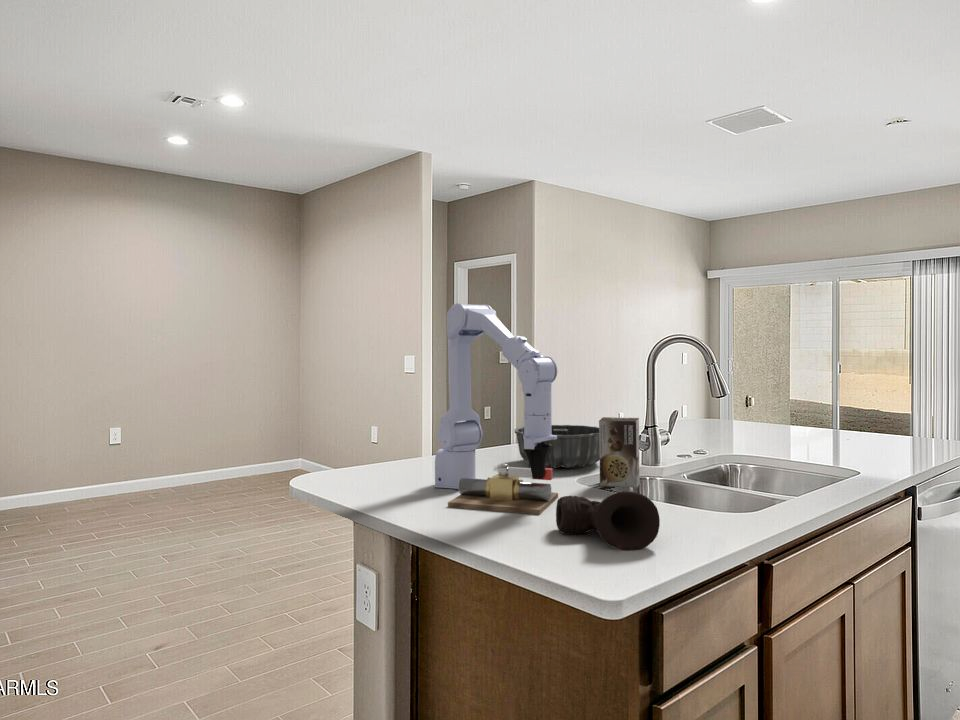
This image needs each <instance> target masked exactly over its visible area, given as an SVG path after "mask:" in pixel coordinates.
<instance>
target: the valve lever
mask: <svg viewBox="0 0 960 720" xmlns="http://www.w3.org/2000/svg"><path fill="white" fill-rule="evenodd" d="M553 469H554V468H552V467H545V473H544V477H543V479H537V480H542V481H552V480H553V479H554V475H553V474H554V472H553V471H554V470H553ZM497 471H498V474H499V476H501V477H508V476H510V477H519V478H528V479H529V478H530V479H532V480H534V479H533V477H532V472H531V467H518V466H517V467H515V466H509V464H508V463H501V464H500V466H498V470H497Z"/></svg>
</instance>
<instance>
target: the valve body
mask: <svg viewBox="0 0 960 720" xmlns="http://www.w3.org/2000/svg"><path fill="white" fill-rule="evenodd" d="M458 492H459V494H460V495H461V494H464V495H477V496H486V498H490V499H495V500H508V501H513V500H520V499H529V500H542V501H550V498H551V492H552V485H551V483H542V482H541V483H540V482H528V481H523V479H520V477H510V476H508V477H501V476H499V474H495V475H493V476H492V477H487V478H486V479H485V478H484V479H483V478H476V479H471V478H461V479H460V482H459V489H458Z"/></svg>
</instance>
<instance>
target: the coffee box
mask: <svg viewBox="0 0 960 720" xmlns="http://www.w3.org/2000/svg"><path fill="white" fill-rule="evenodd" d="M639 419H640V418H639V417H613V416H612V417H609V416H608V417H602V418H600V419H599V420H598V428H599V451H600V460H599V486H600V487H616V488H617V487H618V488H635V489H637V488H638V487H639V485H640V483H641V482H640V421H639Z"/></svg>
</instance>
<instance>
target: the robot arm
mask: <svg viewBox="0 0 960 720" xmlns="http://www.w3.org/2000/svg"><path fill="white" fill-rule="evenodd" d="M484 334H486V335H487V336H488V337H490V338H491V339H492V340H493V341H494V342H495V343H496V344H498V345H499V346H500V347H501V348H502V349H501V354H502V356H503V357H504V358H505V359H506V360H507V361H508V362H509V363H510V364H511V365H512V366H513V367H514V368H515V369H516V370H517V376H518V378H519V381H520V383H521V391H522V392H523V397H524V399H523V405H524V406H523V407H524V408H523V409H524V414H523V415H524V417H523V418H524V419H523V421H524V422H523V423H524V426H523V427H524V435H523V437H524V445H523V449H524V451H525V453H526V455H527V457H528V460H529V463H528V464H529V468H531V472H532V477H533V479H532V480H538V479H543V477H544V473H545V468H547V467H546V463H547V459H548V456H549V453H550V451H551V449H552V444H545V441H547V440H555V439H557V435H552V428H551V425H552V383H553V382H554V381H555V380H556V378H557V376H558V367H557V363H556V362H555V360H554V359H553V358H552V357H551V356H544V355H541V354H540V351H539V350H537V349H535V348H534V347H533V346H532V345H531V344H529V342H528V338H526V337H525V336H520V335H515V336H514V335H513V334H512V333H511V332H510V331H509V329H508V328H507V327H506V326H505V325H504V324H503V323H502V322H501V320H500V319H499V317H498V316H497V311H496V310H495V309H493V308H492V307H491V306H490V305H489V304H487V303H486V304H469V303H467V304H465V303H463V304H462V303H458V302H456V303H454V304H452V305H451V307H450V309H448V311H447V313H446V337H447V351H448V352H447V355H448V357H447V358H448V362H447V363H448V392H449V393H448V396H449V397H448V398H449V399H448V400H449V408H448V410H447V411H446V412H444V414H443V415H441V416H440V418H439V428H438V431H437V439H438V443H439V444H440V446H441V448H439V449H438V450H437V451H436V453H435V458H434V485H433V487H434V488H440V489H441V488H442V489H454V490H455V489H456V490H459V482H460V479H461V478H471V479H477V478H476V450H477V449H479V445H480V444H481V442H482V439H483V435H484V434H483V429H482V426H481V420H480V415H479V414H478V413H477V412H476V411H475V410H473V404H472V364H471V363H472V362H471V361H472V360H471V345H472V343H473V341H475V340H476V339H478V338H479V337H480V336H482V335H484Z"/></svg>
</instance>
